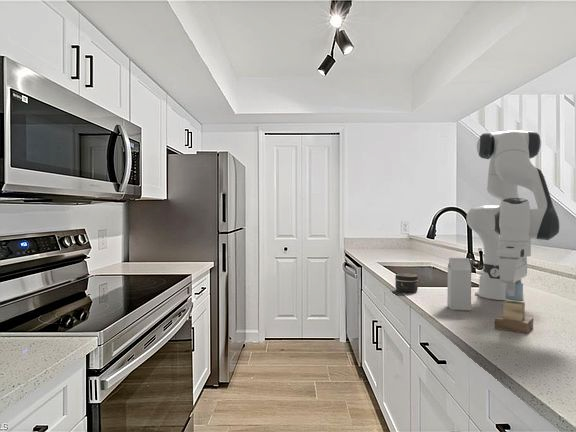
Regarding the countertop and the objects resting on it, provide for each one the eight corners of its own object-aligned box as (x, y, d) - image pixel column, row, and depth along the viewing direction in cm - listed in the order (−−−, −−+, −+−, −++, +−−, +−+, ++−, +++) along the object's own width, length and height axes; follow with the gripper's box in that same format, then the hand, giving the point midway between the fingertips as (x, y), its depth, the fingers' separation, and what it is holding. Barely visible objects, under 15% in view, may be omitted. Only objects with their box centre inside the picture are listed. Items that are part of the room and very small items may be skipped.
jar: (391, 292, 191) (391, 275, 191) (399, 288, 199) (399, 272, 199) (413, 294, 185) (413, 277, 185) (420, 291, 194) (421, 274, 194)
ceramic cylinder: (507, 296, 136) (507, 281, 136) (524, 298, 133) (524, 283, 133) (503, 299, 132) (503, 283, 132) (521, 301, 129) (521, 285, 129)
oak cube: (507, 315, 136) (507, 299, 136) (524, 317, 133) (524, 302, 133) (503, 318, 132) (503, 302, 132) (521, 321, 129) (521, 304, 129)
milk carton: (471, 311, 155) (471, 259, 154) (450, 310, 156) (450, 258, 156) (466, 306, 161) (467, 257, 161) (447, 305, 163) (447, 256, 163)
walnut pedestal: (501, 322, 139) (502, 313, 139) (533, 327, 133) (533, 317, 133) (494, 328, 132) (494, 318, 132) (527, 333, 126) (527, 323, 126)
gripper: (511, 247, 142) (511, 288, 142) (495, 251, 126) (494, 297, 127) (532, 248, 138) (532, 290, 138) (518, 252, 122) (518, 300, 123)
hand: (514, 294), depth 132 cm, fingers closed on ceramic cylinder, 5 cm apart
